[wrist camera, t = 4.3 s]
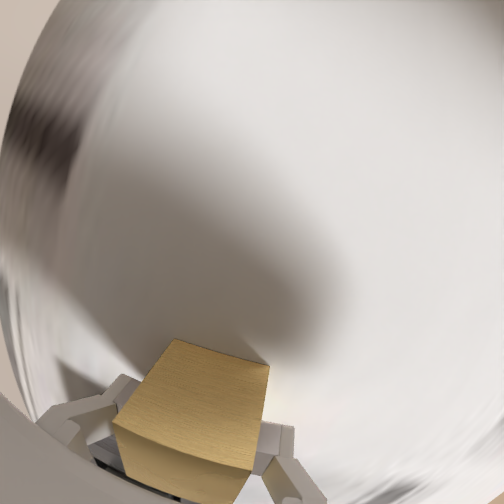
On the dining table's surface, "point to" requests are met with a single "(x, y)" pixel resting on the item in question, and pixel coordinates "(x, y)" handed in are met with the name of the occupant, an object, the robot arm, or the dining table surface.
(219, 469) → the tan wooden toy cube
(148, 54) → the dining table surface
